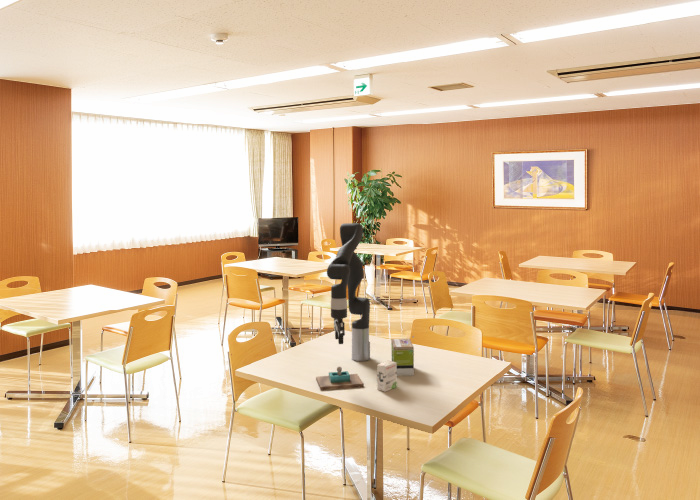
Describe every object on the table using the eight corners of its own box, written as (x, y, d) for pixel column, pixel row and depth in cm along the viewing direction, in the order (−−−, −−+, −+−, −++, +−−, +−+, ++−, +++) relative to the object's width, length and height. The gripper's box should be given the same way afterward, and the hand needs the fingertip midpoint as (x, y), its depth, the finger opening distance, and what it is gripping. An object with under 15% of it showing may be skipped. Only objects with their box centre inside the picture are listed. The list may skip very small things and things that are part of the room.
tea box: (390, 366, 280) (391, 338, 278) (410, 366, 280) (410, 337, 278) (393, 376, 265) (393, 346, 263) (414, 375, 265) (414, 346, 263)
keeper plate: (357, 376, 264) (357, 360, 263) (363, 386, 250) (363, 369, 249) (316, 379, 260) (315, 363, 259) (320, 390, 246) (320, 372, 245)
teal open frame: (347, 377, 259) (347, 371, 258) (350, 381, 253) (350, 375, 252) (328, 378, 257) (328, 372, 256) (330, 383, 251) (330, 376, 251)
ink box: (388, 384, 253) (388, 359, 252) (397, 387, 250) (397, 362, 248) (376, 389, 247) (376, 364, 246) (385, 392, 243) (385, 366, 242)
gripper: (350, 310, 245) (350, 345, 247) (343, 303, 259) (344, 337, 261) (333, 310, 243) (333, 346, 245) (328, 304, 257) (328, 338, 259)
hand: (339, 341), depth 253 cm, fingers open, 8 cm apart
